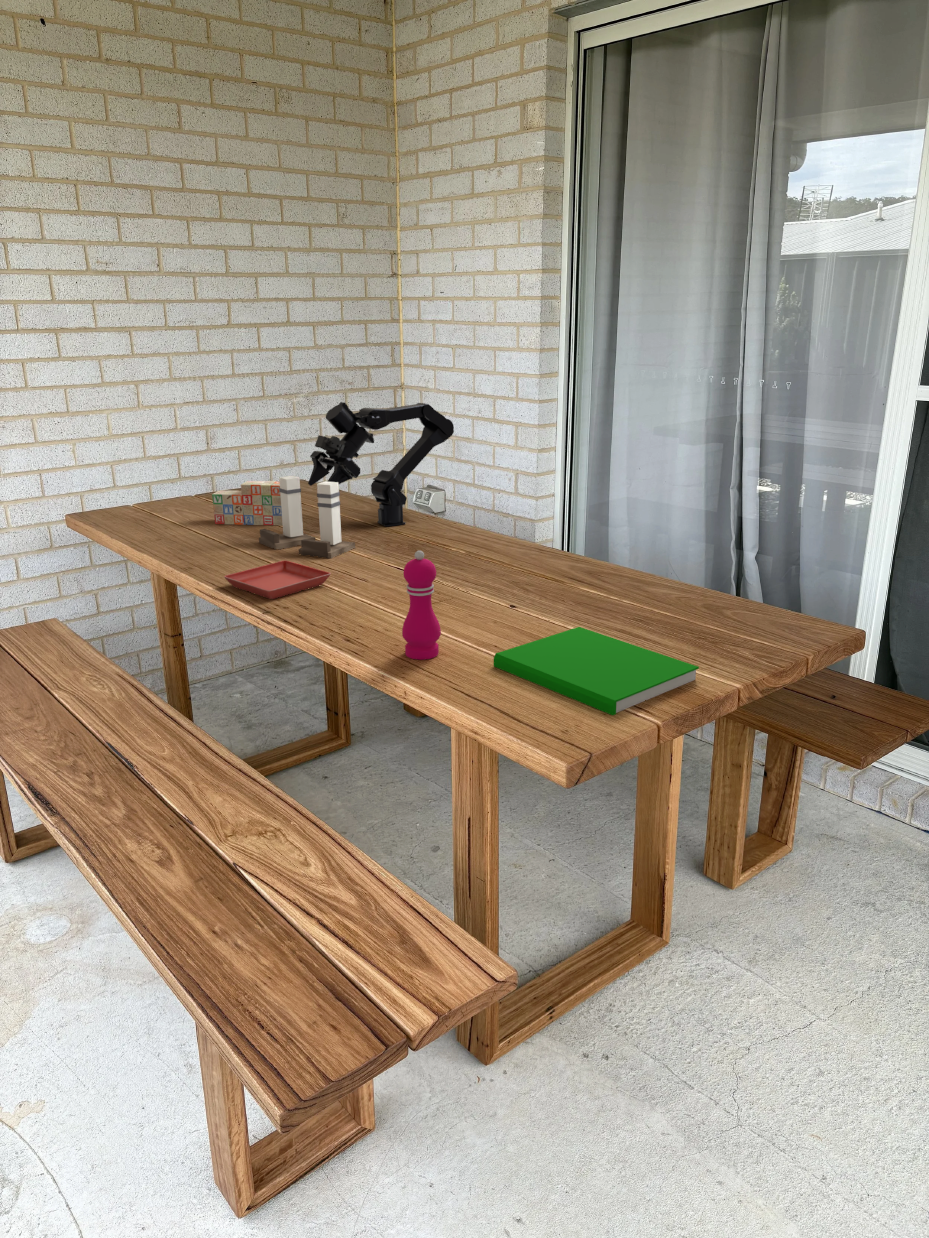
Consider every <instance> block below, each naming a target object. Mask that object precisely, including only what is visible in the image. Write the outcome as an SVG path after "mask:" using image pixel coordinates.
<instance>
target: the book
mask: <svg viewBox="0 0 929 1238" xmlns="http://www.w3.org/2000/svg"><path fill="white" fill-rule="evenodd" d="M493 667H494V668H497V669H499V670H501V671H503V672H506V673H509V674H511V675H514V676H516V677H518V678H521V679H523V680H526V681H527V682H531V683H533V684H536V685H538V686H540V687H543V688H545V689H547V690H550V691H553V692H555V693H557V694H559V695H562V696H564V697H567V698H569V699H572V700H574V701H577V702H579V703H581V704H584V705H586V706H588V707H591V708H594V709H595V710H598V711H601V712H603V713H606V714H608V715H611V716H615V715H617V713H619V712H622V711H624V710H626V709H628V708H631V707H633V706H635V705H639V704H641V703H643V702H645V700H646V701H648V700H650V699H652V698H656V697H657V696H660V695H662V694H664V693H666V692H669V691H672V690H674V689H676V688H679V687H681V686H684V685H687V684H688V683H691V682H693V681H695V680H696V677H697V676H696V675H697V670H698V669H700V666H698V665H695V664H691V663H689V662H686V661H683V660H679V659H677V658H674V657H671V656H668V655H664V654H662V653H659V652H655V651H653V650H650V649H648V648H645V647H641V646H638V645H634V644H632V643H629V642H626V641H623V640H620V639H617V638H614V637H611V636H609V635H605V634H602V633H599V632H597V631H594V630H590V629H587V628H584V627H581V626H577V627H573V628H570V629H568V630H565V631H561V632H558V633H554V634H552V635H548V636H545V637H542V638H539V639H537V640H532V641H531V642H530V641H529V642H527V643H525V644H521V645H518V646H517V645H516V646H515V647H512V648H508V649H506V650H505V649H504V650H502V651H498V652H496V653H495V655H494V656H493Z"/></svg>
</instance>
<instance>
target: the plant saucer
mask: <svg viewBox="0 0 929 1238" xmlns="http://www.w3.org/2000/svg"><path fill="white" fill-rule="evenodd" d="M331 575H332V574H331V572H329V571H326V570H322V569H318V568H315V567H312V566H307V565H304V564H300V563H297V562H293V561H291V560H290V561H289V560H279V561H276V562H273V563H267V564H265V565H261V566H256V567H253V568H248V569H245V570H243V571H238V572H234V573H230V574H226V575H224V576H223V578H224V579H225V580H226V581H227V582H228V583H229V584H230V585H231V586H233V587H234V588H235V587H237V588H236V589H238V588H240V589H239V590H241V589H243V590H242V591H244V590H246V591H245V592H247V591H249V593H250V592H251V593H250V594H253V593H255V594H254V595H256V594H258V595H257V596H259V595H260V597H262V596H263V598H265V597H266V599H268V600H269V599H270V600H274V599H275V600H276V599H279V598H282V597H285V595H286V596H289V595H292V593H293V594H296V593H299V592H298V591H300V592H302V591H301V590H304V591H306V590H305V589H307V590H309V589H308V588H311V589H313V588H312V587H314V588H317V587H316V586H318V587H320V586H319V585H321V586H322V585H323V584H324V583H325V582H326V581H327V580H328V578H330V576H331ZM295 592H296V593H295ZM288 594H289V595H288ZM278 597H279V598H278Z"/></svg>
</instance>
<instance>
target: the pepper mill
mask: <svg viewBox="0 0 929 1238" xmlns="http://www.w3.org/2000/svg"><path fill="white" fill-rule="evenodd" d="M436 577H437V569H436V566H435V564H434V563H433V562H432V561H431V560H429V559H427V558H425V553H424V552H423V551H422V550H417V551H415V553H414V558H413V559H411V560H409V561H408V562H406V564H405V566H404V568H403V578H404V580H405V581H406V582H407V584H406V593H407V594H408V595H409V608H408V612H407V614H406V617H405V619H404V621H403V625H402V630H401V631H402V632H401V636H402V638H403V639H404V641H405V642H406V644H405V645H404V647H405V648H404V650H405V651H404V652H405V653H404V654H405V656H406V658H409V659H413V660H429V659H433V658H435V657H438V655H439V649H440V648H439V643H438V642H437V641H438V640H439V639H440V637H441V634H442V631H441V624H440V622H439V619H438V618H437V616H436V614H435V612H434V609H433V605H432V604H433V603H432V594H434V593H435V589H434V588H435V585H434V584H433V582H434V581H435V579H436Z"/></svg>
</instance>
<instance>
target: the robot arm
mask: <svg viewBox="0 0 929 1238" xmlns="http://www.w3.org/2000/svg"><path fill="white" fill-rule="evenodd" d="M325 419H326V420H327V421H328V423H329V424H330V425H331V427H333V429H335V430H336V431H337V432H338V433H339V434H344V435H343V437H342V438H341V439H340V438H339V437H338V436H334V435H332V436H331V437H327V436H324V435H318V436H317V438H316V442H315V444H314V446H315V447H316V448H319V449H322V450H324V451H325V452H324V451H322V450H321V451H320V450H314V451H313V452H312V453H311V454H310V456H309V457H310V458H311V461H312V463H313V464H312V465H313V468H312V471H311V475H310V476H309V480H308V482H307V484H308V485H309V486H310V487H312V486H313V485H315V484H316V483H318V482H319V481H320V480H322V479H323V478H325V477H326V476H327V475H328V474H330V471H331V470H333V471H332V473H331V475H330V476H329V478H328V479H327V480H326V481H327V482H338V485H341V484H343V483H345V482H347V481H350V480H353V478H355V479H357V478H358V477H359V475H360V474H361V468H360V466H359V465H358V464H357V463H356V462H355V461H354V460H353V459H354V458H358V457H359V456H360V455H359V453H358V452H359V451H360V449H362V447H363V446H364V444H365V443H369V444H374V443H375V438H374V433H371V432H369V431H368V430H373V431H377V430H380V429H383V428H385V427H386V428H387V426H388V425H390V424H392V423H397V422H398V423H399V422H403V421H409V420H415V419H418V420H419V422H420V424H421V425H423V428H422V432H421V437H420V438H419V439H418V440H417V441H416V442H414V444H413V445H412V447H410V449H409V450H408V451H406V453H405V455H403V456H402V458H401V459H400V460H399V461H398V462H397V463H396V464H395V466H393V467H392V469H391V470H385V469H381V470H380V471H379V473H378V474H377V475H376V476H375V477H373V478H372V480H373V481H372V482H371V484H370V492H371V495H372V496H374V499H375V501H376V503H379V507H378V509H377V517H378V519H377V520H378V521H377V523H378V524H380V525H381V526H384V527H393V526H401V525H406V523H407V522H406V521H404V514H403V513H404V511H403V510H404V509H403V507H404V506H403V505H406V503H407V500H408V499H407V496H406V495H405V494H404V493H403V492H402V490H403V488H404V483H405V480H406V479H407V478H408V476H410V474H411V473H412V472H413V471H414V470H415V469H416V468H417V467H418V466H419V464H420V463H421V462H422V461H423V460H424V459H425V458H426V457H427V456H428V454H429V453H430V452H431V451H432V450H433V449H434V448H435V447H436V446H439V445H441V444H443V443H445V442H446V441H447V440H449V439H450V438H451V437H452V436H453V435H454V432H455V430H454V429H455V427H454V423H453V421H452V420H451V419H449V418H446V417H445V416H444V414H442V413H440V412H439V411H437V410H436V409H435V408H434V407H432V406H431V405H430V404H429V403H426V402H425V403H424V402H417V403H416V404H408V405H402V406H396V407H390V408H377V407H376V408H375V407H363V408H361V409H359V411H358V412H353V411H352V410H351V409H350V408H349V406H348V404H347V403H346V402H344V401H342V402H339V403H338V404H337V405H334V406H333V407H332V408H331V409H329V410H328V411H327V412H326V414H325Z"/></svg>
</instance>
